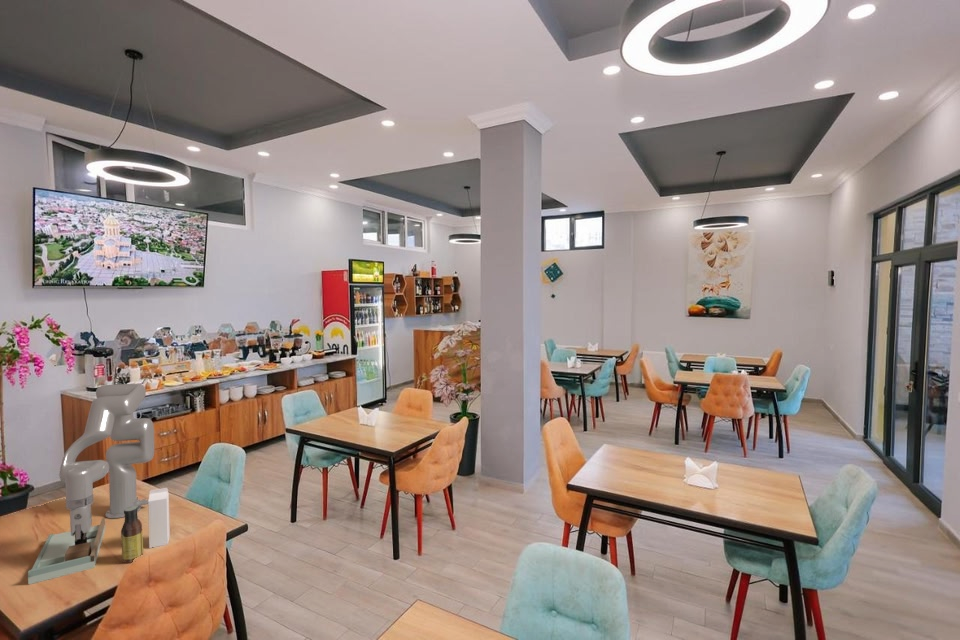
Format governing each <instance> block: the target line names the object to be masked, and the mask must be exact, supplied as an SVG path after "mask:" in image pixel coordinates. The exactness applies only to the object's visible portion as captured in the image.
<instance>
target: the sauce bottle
mask: <svg viewBox="0 0 960 640" xmlns="http://www.w3.org/2000/svg"><path fill="white" fill-rule="evenodd" d="M137 511H138V507H137V506H130V507H127V508H125V509H124V514H125V517H124V522H123V525H122V527H121V531H120V538H121V541H120V542H121V556H122V558H121V559H122V561H123V563H125V564H128V563H129V564H130V563H133V562H132V561H133V560H134V559H135V558H137V557H139V556H141V555H143V556H144V535H143V524H142V521H141V520H140V519H139V518H138V517H139V516H138V512H139V511H138V512H137Z"/></svg>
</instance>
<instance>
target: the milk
mask: <svg viewBox="0 0 960 640" xmlns="http://www.w3.org/2000/svg"><path fill="white" fill-rule="evenodd" d="M148 494H149V495H148V499H147V500H148V504H147V505H148V506H147V507H148V548H149V549H153V548H152V547H154V548H158V547H162V546H167V545H169V541H170V535H171V534H170V501H169V500H170V497H169V496H170V494H169V490H168V487H163V488H158V489H151V490H149V493H148Z"/></svg>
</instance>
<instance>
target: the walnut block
mask: <svg viewBox="0 0 960 640" xmlns="http://www.w3.org/2000/svg"><path fill="white" fill-rule="evenodd" d="M90 554H91V542H87V543H83V544H78V545H73V546H69V548H68V550H67V552H66V554H65V561H69V560H74V559H78V558H82V557H86V556H90Z"/></svg>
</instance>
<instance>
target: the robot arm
mask: <svg viewBox="0 0 960 640" xmlns="http://www.w3.org/2000/svg"><path fill="white" fill-rule="evenodd" d="M95 390H96V391H95V396H96V398H95V399H94V400H92V402H91V405H90V408H89V412H88V416H87V420H86V424H85V429H84V432H83V434H82V435H81V436H79V438H78V439H76V440H75V441H74V442H72V444H71V445H70V446H69V447H68V449H67V450H66V451H65V452H64V454H63V457H62V459H61V465H60V468H59V473H58V474H59V475H58V476H59V480H60V481H61V482H62V483H65V485H64V486H65V509H66V510H68V511H70V513H69V514H70V515H69V517H70V519H69V520H70V521H69V522H70V531H71V536H74V534H75V545H78V544H83V543H87V537H86V533H88V532H89V531H90V528H91V527H92V524H93V522H92V521H93V519H92V506H91V505H92V504H94V483H95V482H97V481H99V480H102V479H103V478H105V477H106V476H107V475H108V482H109V484H108V485H109V509H108V510H107V511H106V512H105V518H108V519H120V518H125V514H124V509H125V508H127V507H130V506H137V507H138V511H137V513H138V512H139V511H140V510H141V508H142V506H144V505H148V500H149V499H146V498H144V499H139V497H137V472H136V469H135V467H134V466H133V465H134V464H135V465H136V464H144V463H149V462H151V461H152V460H153V458H154V457H155V456H154V455H155V425H154V422H153V421H152V419H150V418H147V417H142V418H135V417H134V413H135V412H136V411H137V409H138V407H139V406H140V405H141V404H142V402H143V401H144V399H145V397H146V392H147V390H146V387H145V386H144V385H143V384H141V383H126V384H124V383H120V384H118V383H116V384H105V385H101V386H98V387H97V388H96V389H95ZM108 438H110V440H111V441H113V442H121V443H116V444H112V445H111V446H109V447H108V448H107V450H106V452H105V460H104V459H97V460H96V459H94V460H82V461H77V458H78V456H79V455H80V454H81V452H83V451H84V450H85V449H86V448H88V447H90V446H92V445H94V444H96V443H99V442H101V441H103V440H105V439H108ZM136 440H137V441H136ZM126 441H129V442H126ZM130 441H131V442H130ZM132 441H135V442H132Z"/></svg>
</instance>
